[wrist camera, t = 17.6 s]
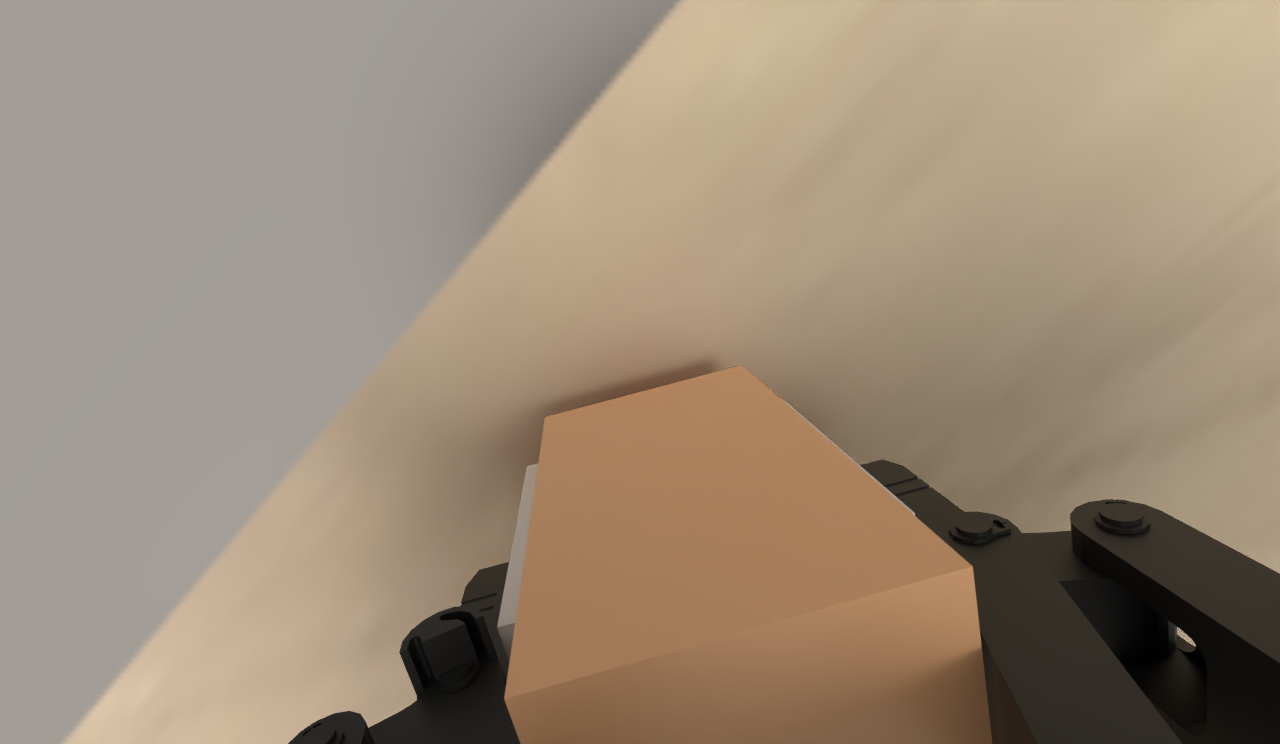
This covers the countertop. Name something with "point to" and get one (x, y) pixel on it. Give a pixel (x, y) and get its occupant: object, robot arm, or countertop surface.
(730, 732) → the plug
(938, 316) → the countertop surface
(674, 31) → the countertop surface
